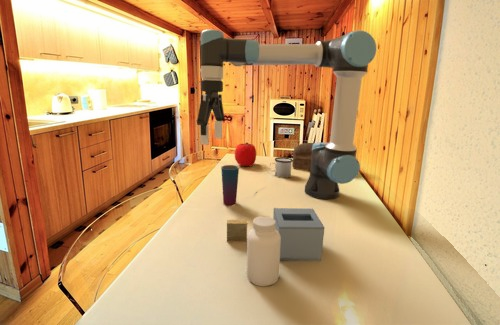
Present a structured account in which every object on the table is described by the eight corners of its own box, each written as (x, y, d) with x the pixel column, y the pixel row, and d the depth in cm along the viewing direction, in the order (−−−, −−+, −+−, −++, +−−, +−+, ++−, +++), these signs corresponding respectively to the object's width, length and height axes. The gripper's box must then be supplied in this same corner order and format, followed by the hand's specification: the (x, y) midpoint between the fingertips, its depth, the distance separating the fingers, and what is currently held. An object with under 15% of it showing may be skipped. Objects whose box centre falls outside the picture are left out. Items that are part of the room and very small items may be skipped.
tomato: (248, 169, 162) (248, 146, 158) (228, 165, 169) (229, 143, 165) (262, 164, 174) (263, 142, 171) (243, 160, 181) (244, 139, 178)
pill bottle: (245, 267, 74) (246, 213, 70) (275, 266, 75) (278, 213, 71) (247, 287, 66) (249, 229, 62) (281, 286, 67) (285, 228, 63)
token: (246, 237, 88) (246, 219, 87) (246, 241, 86) (247, 223, 85) (227, 237, 88) (227, 219, 87) (226, 241, 86) (227, 223, 84)
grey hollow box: (310, 238, 89) (313, 208, 87) (321, 260, 78) (324, 227, 75) (272, 237, 89) (273, 208, 86) (277, 260, 77) (279, 226, 75)
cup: (235, 207, 110) (236, 170, 106) (218, 205, 112) (219, 168, 108) (239, 201, 117) (240, 165, 113) (223, 199, 118) (224, 164, 114)
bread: (295, 163, 180) (297, 138, 175) (348, 169, 168) (351, 143, 164) (289, 169, 166) (291, 142, 162) (346, 176, 155) (350, 148, 151)
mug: (291, 173, 156) (293, 157, 154) (291, 179, 147) (292, 162, 145) (270, 172, 158) (271, 156, 156) (268, 177, 149) (268, 160, 147)
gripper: (214, 80, 110) (214, 135, 115) (185, 78, 86) (186, 146, 92) (233, 81, 108) (232, 136, 114) (208, 78, 85) (208, 148, 90)
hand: (211, 141), depth 103 cm, fingers open, 13 cm apart
